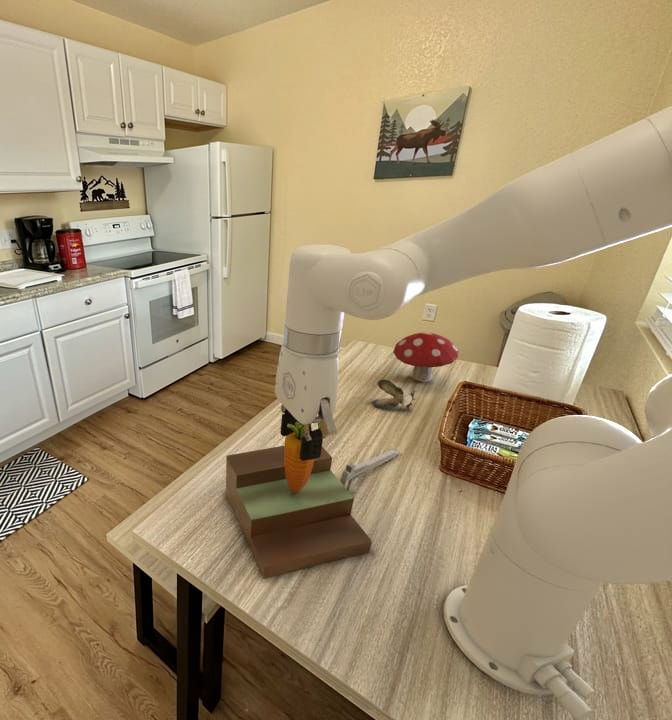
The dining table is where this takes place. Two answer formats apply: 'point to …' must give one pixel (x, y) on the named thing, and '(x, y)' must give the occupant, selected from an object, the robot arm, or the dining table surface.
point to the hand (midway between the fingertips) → (299, 444)
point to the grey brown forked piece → (395, 392)
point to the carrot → (296, 459)
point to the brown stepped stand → (292, 513)
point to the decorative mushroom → (425, 353)
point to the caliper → (364, 468)
